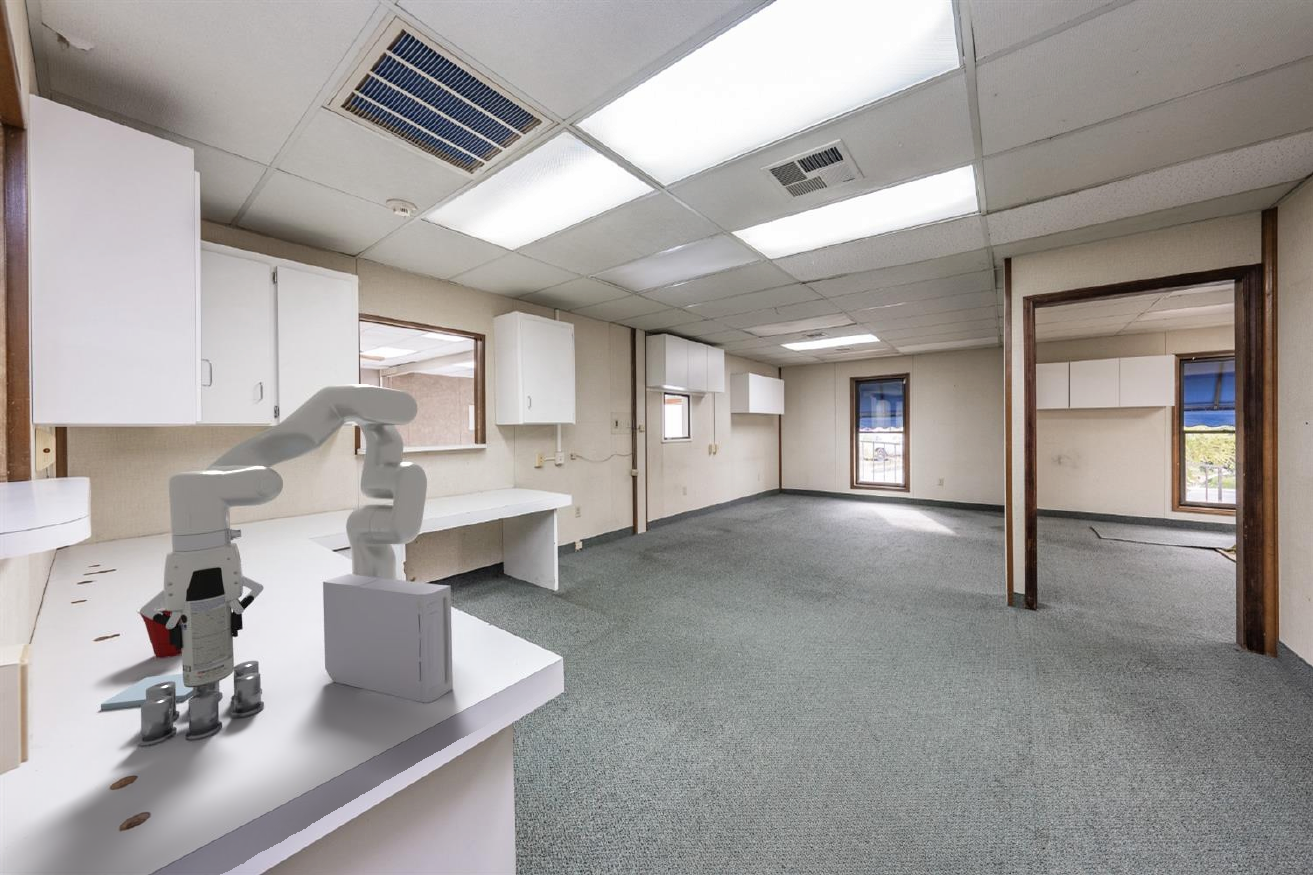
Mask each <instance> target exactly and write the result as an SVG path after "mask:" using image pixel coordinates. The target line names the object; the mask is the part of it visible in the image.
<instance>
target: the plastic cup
mask: <svg viewBox="0 0 1313 875" xmlns="http://www.w3.org/2000/svg"><path fill="white" fill-rule="evenodd" d="M142 607H143V606H141V607H139V608H137V610H136V612H137V614H139V615H140V616H141V618H142V620H143V622H144V624H145V627H146V631H147V634H148V637H149V642H150V643H151V646H152V651H153V654H154V656H155V658H157V659H165V658H166V659H167V658H170V657H175V656H179V655H182V648H181V649H180V650H179V651H175V645H172V646H170V643H169V629H167V628H166V627H165V626H163V625H161V624H159V623H157V622H154V621H153V620H152V619H150V618H148V617H146V616H144V615H142V614H141V613H140V609H141V608H142ZM155 609H156V610H158V611H159V612H163V613H165V614H167V615H169V616H170V615H171V613H172V612H169V611H167V610H166V609H165V606H164V601H163V602H161V603H160V604H159V605H158V606H157V607H155ZM179 622H180V623H181V621H180V618H179Z"/></svg>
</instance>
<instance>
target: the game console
mask: <svg viewBox="0 0 1313 875" xmlns="http://www.w3.org/2000/svg"><path fill="white" fill-rule="evenodd" d="M451 587H452V586H451V585H446V584H445V585H444V584H437V583H436V584H435V583H428V582H427V583H426V582H420V581H409V580H400V579H396V580H393V579H385V578H376V577H368V576H359V575H352V574H351V573H348V574H345V575H341V576H338V577H334V578H331V579H327V580H324V581H322V590H323V591H322V593H323V628H324V629H323V631H324V632H323V633H324V635H323V637H324V638H323V640H324V641H323V642H324V669H325V671H326V673H327V675H328V676H329V678H330V679H331V681H332V682H334V683H337V684H341V685H346V686H351V687H355V688H359V689H363V690H367V691H373V692H377V693H382V694H386V695H391V696H395V697H399V698H402V699H403V698H405V699H408V700H412V701H416V702H417V701H418V702H422V703H425V704H427V703H431V702H435V701H436V700H438V699H440V697H441V698H442V696H444V695H445V694H447V693H448V692H450V691H452V690H453V688H454V686H453V684H454V682H453V681H454V680H453V640H452V639H453V638H452V637H453V635H452V634H453V632H452V631H453V630H452V597H451V596H452V589H451Z"/></svg>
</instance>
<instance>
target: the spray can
mask: <svg viewBox="0 0 1313 875" xmlns="http://www.w3.org/2000/svg"><path fill="white" fill-rule="evenodd" d="M232 612H233V609H232V608H231V607H230V606H229V602H227V601H226V598H225V591H224V586H223V579H222V569H221V568H220V567H217V568H210V569H204V570H198V571H194V572H193V574H192V577H191V581H190V584H189V587H188V589H187V593H186V603H185V609H184V610H183V611H182V615H181V617H180V621H181V643H182V654H181V659H182V660H181V664H182V674H183V682H184V685H185V687H189V688H190V687H201V686H206V685H209V684H212V683H215V682H218V681H219V682H221V681H222V680H224V679H226V678H228V677H229V676H231V674H232V673H234V670H233V669H234V667H235V666H234V665H235V662H234V660H235V659H234V637H233V631H232Z"/></svg>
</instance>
